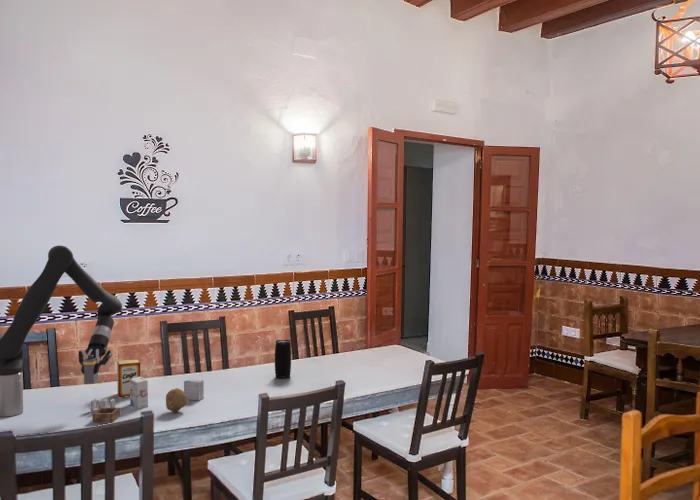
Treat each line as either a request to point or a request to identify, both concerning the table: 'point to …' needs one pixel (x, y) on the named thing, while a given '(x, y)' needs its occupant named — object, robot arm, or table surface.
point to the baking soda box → (126, 375)
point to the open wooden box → (106, 415)
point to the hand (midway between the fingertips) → (89, 372)
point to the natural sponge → (176, 400)
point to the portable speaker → (282, 358)
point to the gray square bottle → (90, 370)
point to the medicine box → (194, 389)
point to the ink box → (139, 392)
